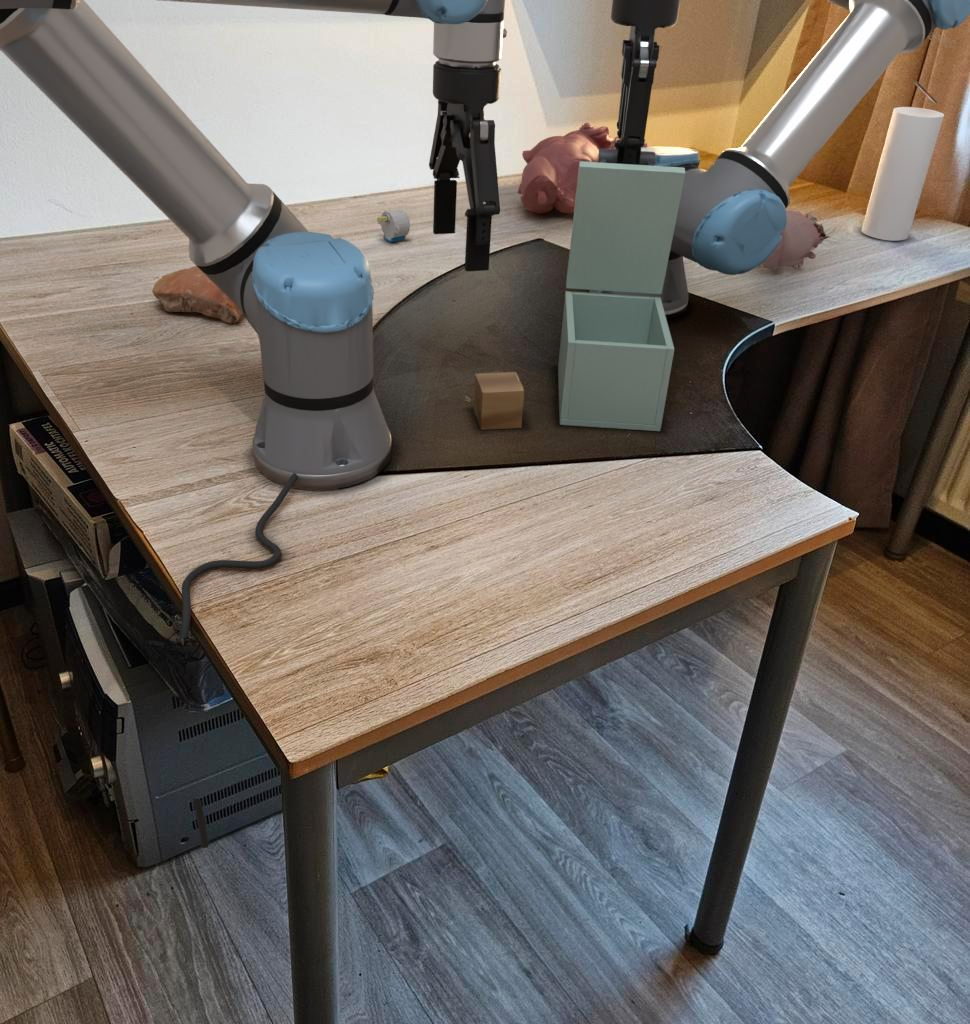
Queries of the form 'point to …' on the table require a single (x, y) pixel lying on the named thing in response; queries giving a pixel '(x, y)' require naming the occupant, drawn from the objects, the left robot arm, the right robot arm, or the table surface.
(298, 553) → the table surface
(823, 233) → the toy
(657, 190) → the lid
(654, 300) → the chest
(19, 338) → the table surface
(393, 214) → the electric motor
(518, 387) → the block
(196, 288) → the ceramic shard
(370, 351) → the left robot arm
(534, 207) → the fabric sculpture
